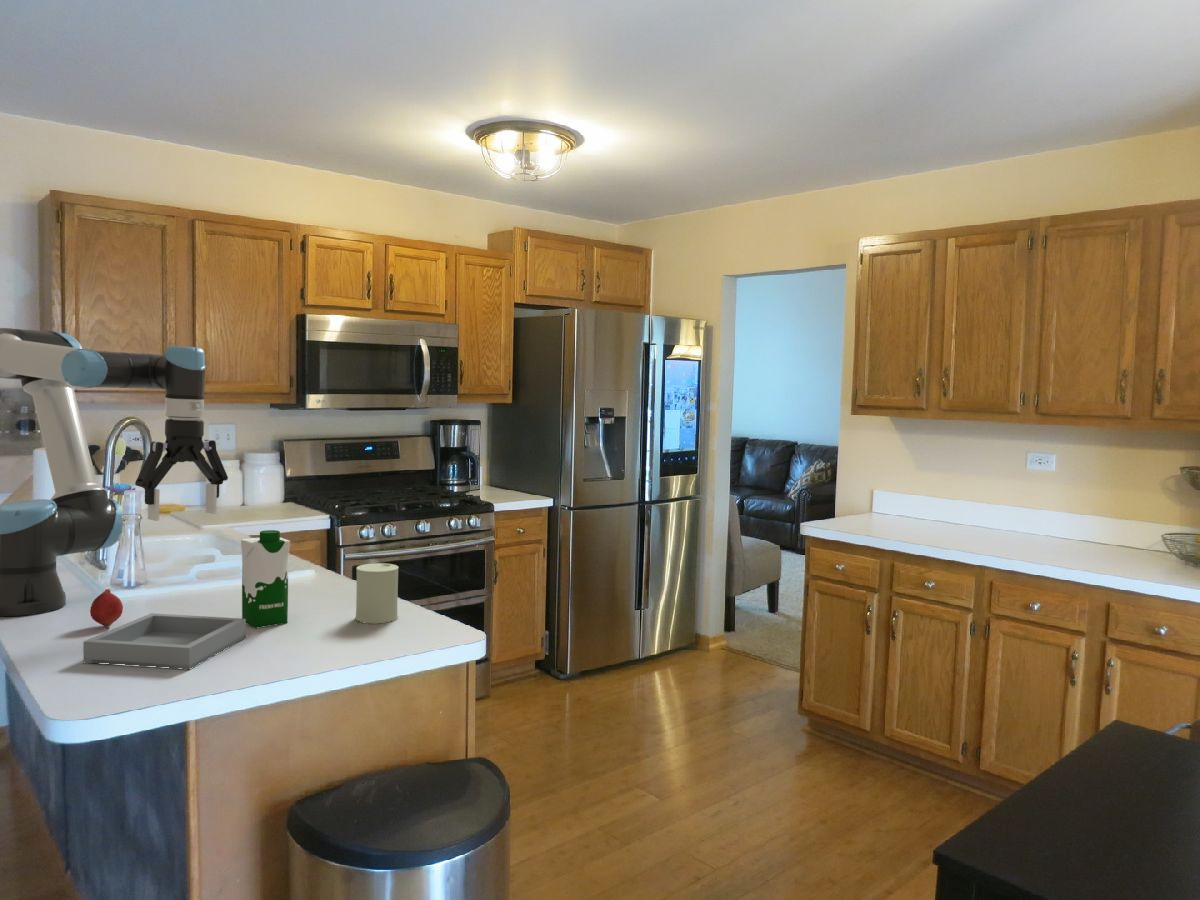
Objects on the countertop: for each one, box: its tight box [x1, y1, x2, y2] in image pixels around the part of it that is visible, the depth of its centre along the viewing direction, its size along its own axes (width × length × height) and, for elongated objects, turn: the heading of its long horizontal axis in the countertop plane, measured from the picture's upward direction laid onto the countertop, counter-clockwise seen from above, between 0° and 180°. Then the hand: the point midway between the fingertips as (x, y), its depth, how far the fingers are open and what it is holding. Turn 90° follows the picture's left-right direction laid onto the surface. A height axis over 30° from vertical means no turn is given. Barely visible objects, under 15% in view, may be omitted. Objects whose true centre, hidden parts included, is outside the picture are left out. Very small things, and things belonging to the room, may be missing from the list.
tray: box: [82, 612, 247, 670], centre depth 162 cm, size 20×20×4 cm
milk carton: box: [240, 529, 291, 629], centre depth 183 cm, size 9×9×20 cm
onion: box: [89, 588, 124, 628], centre depth 176 cm, size 6×6×8 cm
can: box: [355, 562, 400, 624], centre depth 189 cm, size 9×9×12 cm
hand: (183, 516), depth 184 cm, fingers open, 13 cm apart
